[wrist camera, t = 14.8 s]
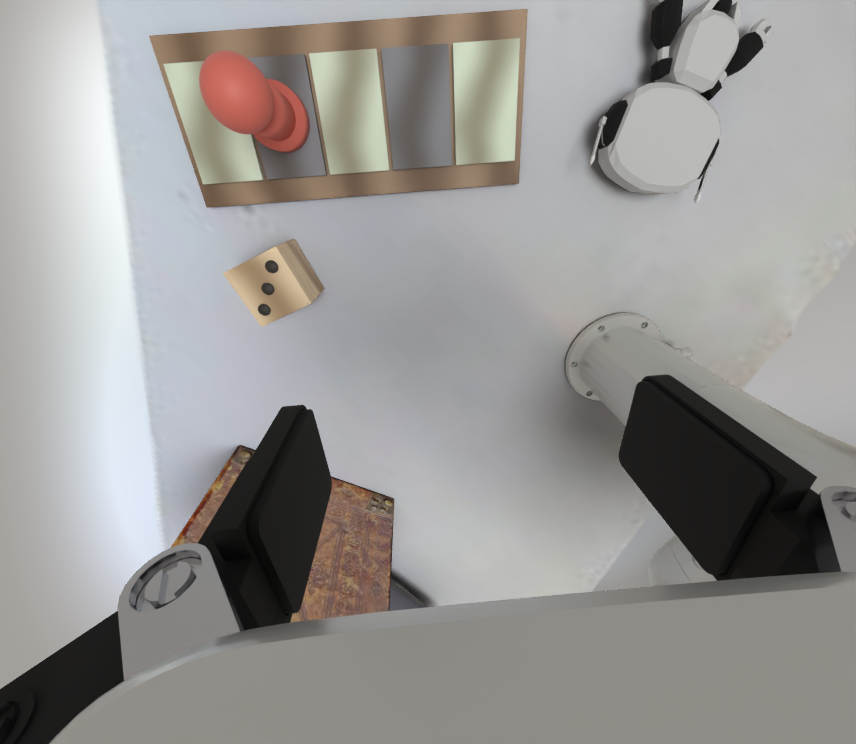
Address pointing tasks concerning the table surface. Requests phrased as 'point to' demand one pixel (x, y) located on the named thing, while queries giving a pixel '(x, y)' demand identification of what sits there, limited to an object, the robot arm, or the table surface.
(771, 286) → the table surface
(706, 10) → the robot toy
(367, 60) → the board
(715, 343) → the table surface
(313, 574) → the book
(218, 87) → the pawn
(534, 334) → the table surface
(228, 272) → the die
